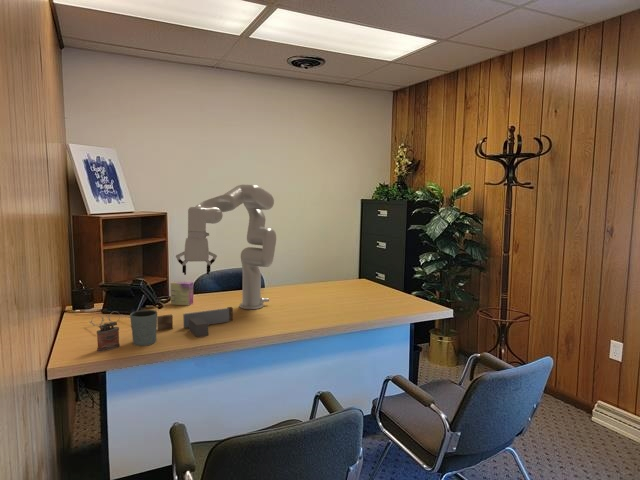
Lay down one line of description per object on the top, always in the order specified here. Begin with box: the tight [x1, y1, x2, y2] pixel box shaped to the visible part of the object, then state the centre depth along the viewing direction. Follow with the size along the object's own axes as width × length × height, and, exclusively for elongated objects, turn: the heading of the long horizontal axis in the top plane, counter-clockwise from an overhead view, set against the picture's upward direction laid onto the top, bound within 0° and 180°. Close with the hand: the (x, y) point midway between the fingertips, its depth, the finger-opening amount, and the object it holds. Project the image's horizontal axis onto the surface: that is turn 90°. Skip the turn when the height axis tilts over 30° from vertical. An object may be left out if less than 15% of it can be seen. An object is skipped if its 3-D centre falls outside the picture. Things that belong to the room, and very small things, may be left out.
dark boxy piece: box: [188, 317, 209, 338], centre depth 183 cm, size 5×10×6 cm, turn 35°
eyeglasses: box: [89, 311, 130, 328], centre depth 188 cm, size 16×19×5 cm
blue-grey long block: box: [182, 308, 230, 329], centre depth 194 cm, size 20×3×6 cm, turn 121°
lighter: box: [96, 321, 121, 352], centre depth 163 cm, size 8×3×10 cm, turn 138°
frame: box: [157, 306, 234, 332], centre depth 194 cm, size 34×2×6 cm, turn 121°
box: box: [170, 280, 194, 307], centre depth 227 cm, size 10×6×12 cm, turn 84°
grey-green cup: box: [129, 309, 158, 347], centre depth 170 cm, size 10×10×12 cm
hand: (196, 274), depth 187 cm, fingers open, 9 cm apart
